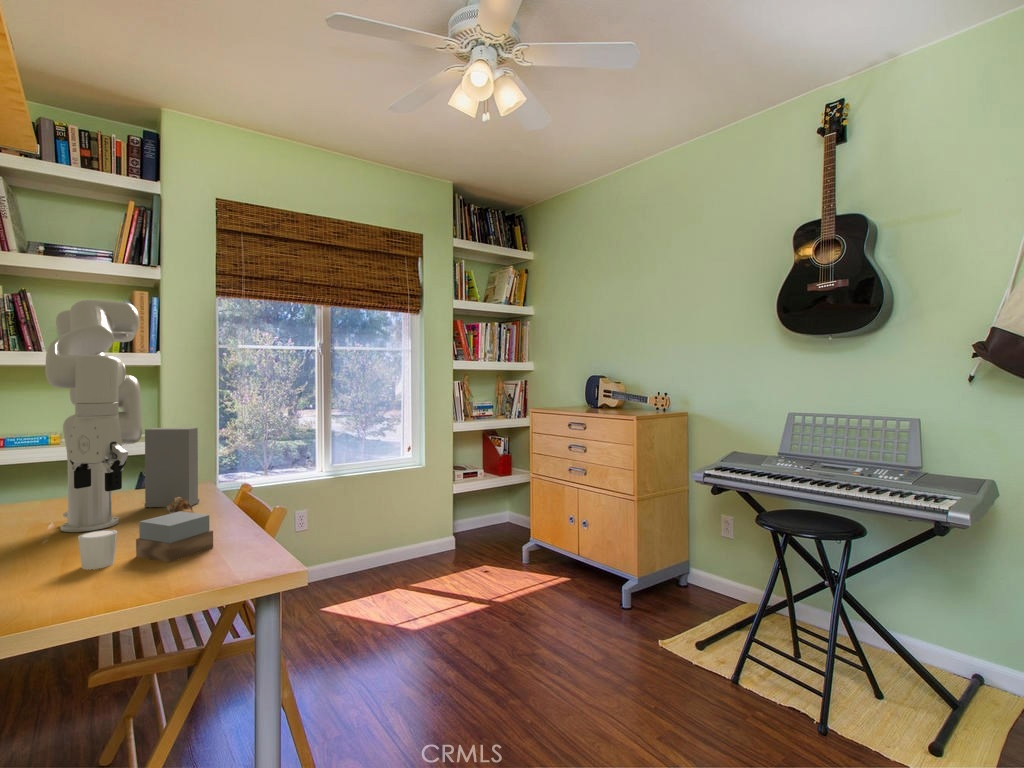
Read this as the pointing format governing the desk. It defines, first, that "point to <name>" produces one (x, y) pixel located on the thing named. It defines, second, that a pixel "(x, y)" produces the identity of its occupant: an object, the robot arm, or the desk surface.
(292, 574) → the desk surface
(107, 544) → the beige cup
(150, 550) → the base block
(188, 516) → the top block
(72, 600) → the desk surface
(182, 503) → the lion figurine
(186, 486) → the tall grey upright box
